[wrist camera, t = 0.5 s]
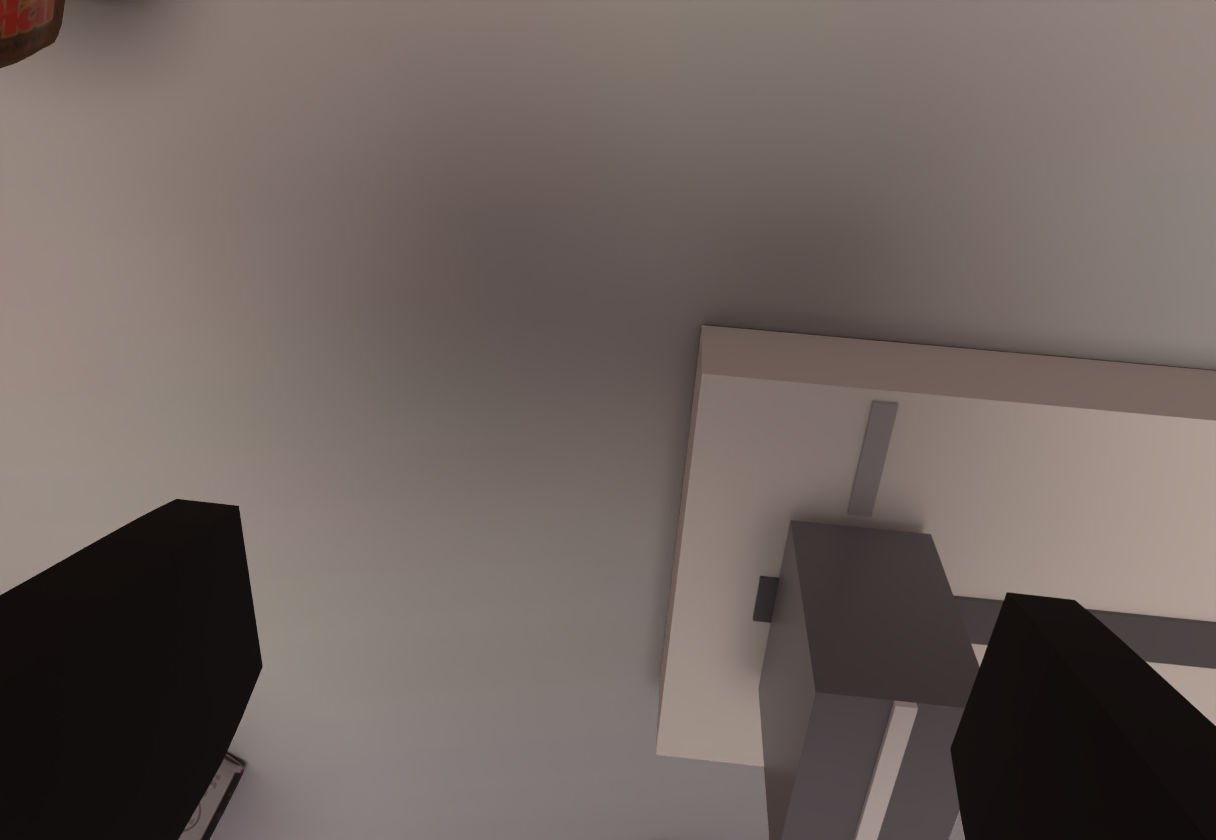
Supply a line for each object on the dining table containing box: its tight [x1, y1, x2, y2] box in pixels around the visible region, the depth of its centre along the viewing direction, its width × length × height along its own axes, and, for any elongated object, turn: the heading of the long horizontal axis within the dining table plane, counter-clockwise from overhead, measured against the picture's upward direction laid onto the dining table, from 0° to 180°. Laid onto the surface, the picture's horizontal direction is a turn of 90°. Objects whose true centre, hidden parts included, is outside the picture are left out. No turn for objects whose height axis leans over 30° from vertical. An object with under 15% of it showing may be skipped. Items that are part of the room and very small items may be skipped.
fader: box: [758, 520, 980, 840], centre depth 15 cm, size 4×2×4 cm, turn 177°
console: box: [656, 325, 1216, 767], centre depth 18 cm, size 9×18×2 cm, turn 87°
